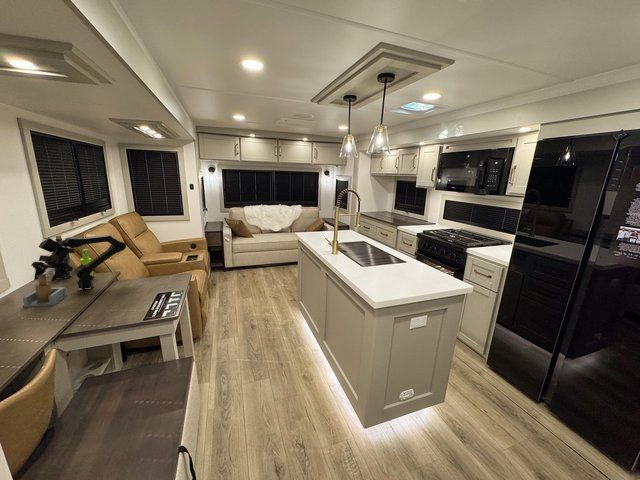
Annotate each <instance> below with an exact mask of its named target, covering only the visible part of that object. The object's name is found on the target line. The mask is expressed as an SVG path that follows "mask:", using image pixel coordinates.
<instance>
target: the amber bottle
mask: <svg viewBox="0 0 640 480" xmlns="http://www.w3.org/2000/svg"><path fill="white" fill-rule="evenodd" d="M37 278H38V279H37V281H38V284H36V285H35V286H34V288H35V289H36V296H37V302H48V301H49V296H50V295H51V294H52V290H51V288H52V284H51V283H47V274H46V273H43V274H40V275H37ZM35 289H34V290H35Z"/></svg>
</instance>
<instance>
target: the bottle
mask: <svg viewBox="0 0 640 480" xmlns="http://www.w3.org/2000/svg"><path fill="white" fill-rule="evenodd" d="M62 240H63V238H62V235H61V234H56V235H55V240H54V241H56V242H59V241H62ZM60 246H61V245H60ZM56 251H57V250H56ZM56 251H55V252H56ZM55 252H50V253H51V254H50V255H54V253H55ZM66 260H67V261H66V262H63V263H64V264H69V265H70V266H72V265H71V257H70V253H69V254H68V256H67V257H66ZM52 269H53V275H54V274H55V273H56V268H52ZM72 274H73V273H72V272H69V273H66V274H64V275H62V276H61V277H59V278H65V277H69V276H73V275H72ZM69 278H70V277H69ZM65 279H66V278H65Z"/></svg>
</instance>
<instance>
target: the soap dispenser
mask: <svg viewBox="0 0 640 480" xmlns="http://www.w3.org/2000/svg"><path fill="white" fill-rule="evenodd" d="M91 250H92V248H84V249H82V250H81V252H82V254H81V258H80V259H79V261H80V265H81V264H83V265H86V264H88V263H90V262H91V261H92V258H91V257H90V255H89V253H88V251H91ZM93 272H94V270H93V271H92V273H91V274H90V275H93V276H94V274H93Z"/></svg>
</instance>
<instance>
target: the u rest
mask: <svg viewBox="0 0 640 480" xmlns="http://www.w3.org/2000/svg"><path fill="white" fill-rule="evenodd" d="M51 290H52V294H51V295H50V296H49V301H48V302H37V296H36V289H34V290H33V291H31V292H30V293H28V294H27V295H25V296H23V297H22V299H23V300H22V302H23V305H22V307H23V308H33V307H34V308H35V307H45V306H46V307H47V306H55V305H57V304H58V303H59V302H61V301H62V300H63V299H64V298H66V297H67V289H66V287H51ZM65 296H66V297H65ZM60 300H61V301H60Z"/></svg>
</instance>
